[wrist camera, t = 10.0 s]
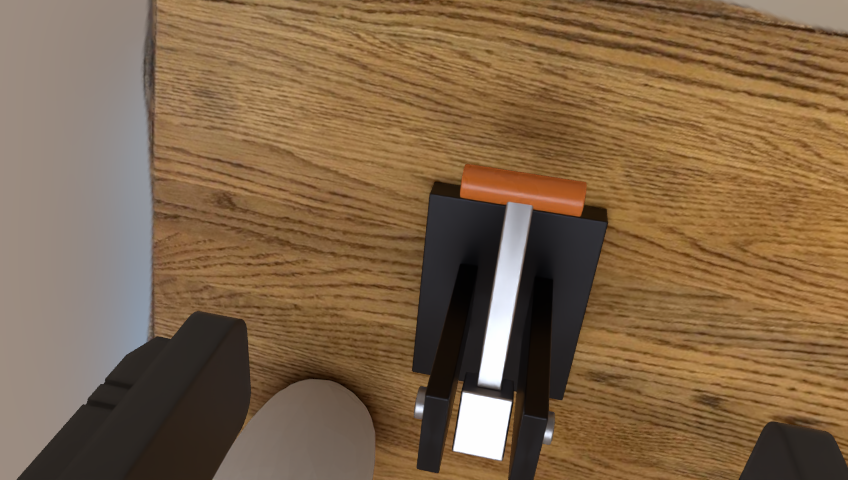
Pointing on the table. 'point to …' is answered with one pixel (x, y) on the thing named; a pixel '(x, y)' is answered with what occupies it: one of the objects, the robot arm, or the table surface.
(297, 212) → the table surface
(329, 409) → the mug
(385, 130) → the table surface
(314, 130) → the table surface
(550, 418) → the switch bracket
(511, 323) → the switch
